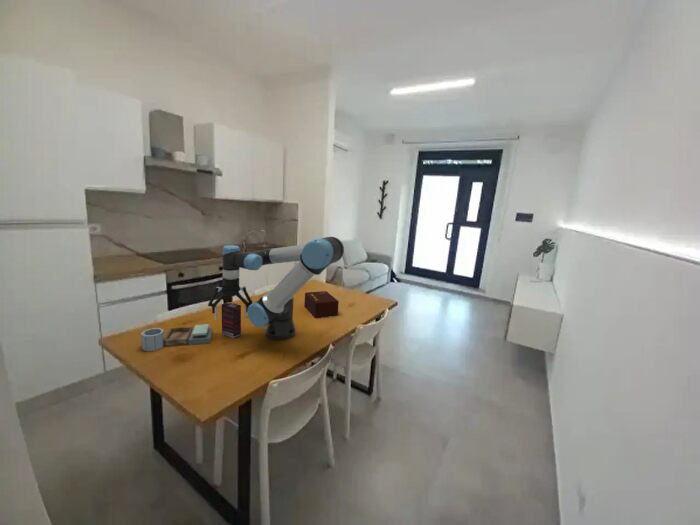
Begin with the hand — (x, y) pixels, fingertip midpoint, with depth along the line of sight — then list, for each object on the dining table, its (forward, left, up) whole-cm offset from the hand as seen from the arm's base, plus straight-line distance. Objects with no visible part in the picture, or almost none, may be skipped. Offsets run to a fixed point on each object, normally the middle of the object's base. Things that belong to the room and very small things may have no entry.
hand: (230, 318), depth 149 cm
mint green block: (+13, +2, -7) cm, 15 cm away
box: (-53, -26, -9) cm, 59 cm away
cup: (+32, +7, -8) cm, 34 cm away
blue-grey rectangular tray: (+13, +2, -8) cm, 16 cm away
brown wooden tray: (+23, +1, -8) cm, 24 cm away
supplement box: (0, 0, -9) cm, 9 cm away
